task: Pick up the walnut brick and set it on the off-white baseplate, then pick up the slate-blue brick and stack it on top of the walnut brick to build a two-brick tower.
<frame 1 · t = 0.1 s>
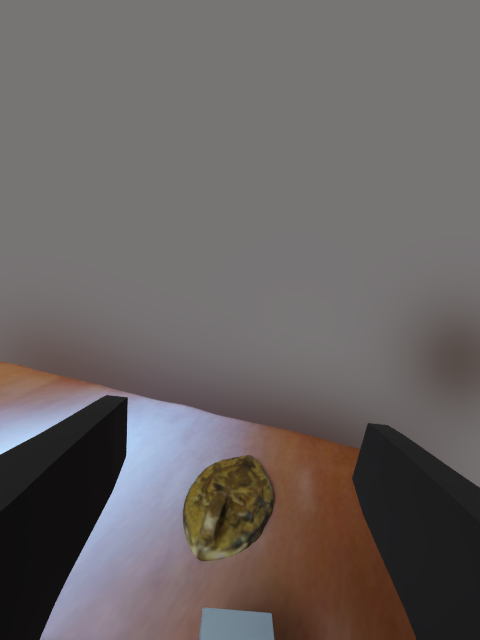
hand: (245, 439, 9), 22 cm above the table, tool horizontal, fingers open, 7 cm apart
olive-yellow oval lump: (229, 505, 34), on the table
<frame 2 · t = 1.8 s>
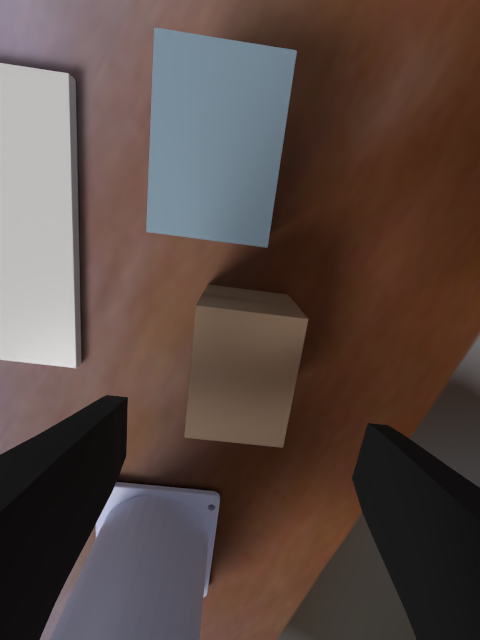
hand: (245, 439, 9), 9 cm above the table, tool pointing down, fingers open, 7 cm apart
walnut brick: (241, 340, 17), on the table
slate-blue brick: (222, 174, 15), on the table
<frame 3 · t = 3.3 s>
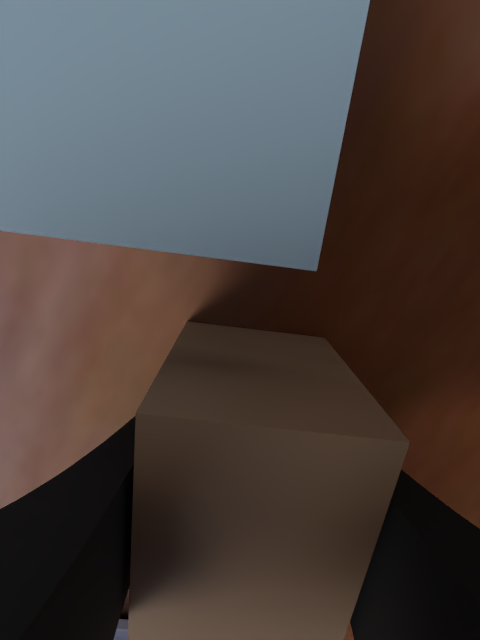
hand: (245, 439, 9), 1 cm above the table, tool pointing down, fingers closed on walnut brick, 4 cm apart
walnut brick: (244, 411, 10), on the table, touching gripper
slate-blue brick: (211, 124, 8), on the table
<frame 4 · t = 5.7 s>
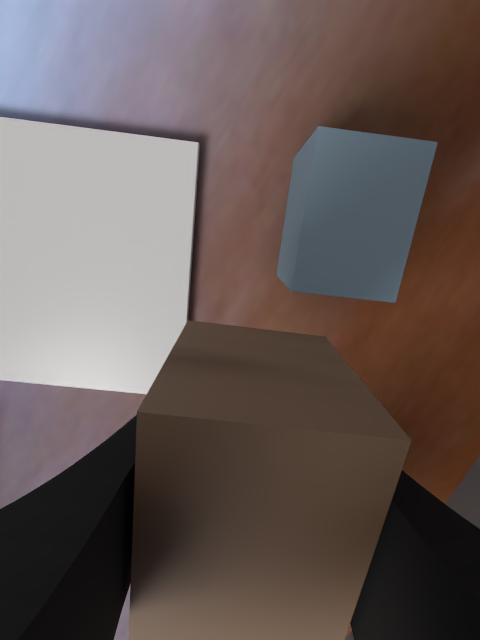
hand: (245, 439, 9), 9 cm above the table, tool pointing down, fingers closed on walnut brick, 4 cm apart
walnut brick: (244, 410, 10), point 8 cm above the table, touching gripper
slate-blue brick: (324, 224, 17), on the table
baseplate: (65, 269, 17), on the table
when the fingers open (3 cm above the table, at t = 8.2 s): walnut brick stays where it is, resting on baseplate.
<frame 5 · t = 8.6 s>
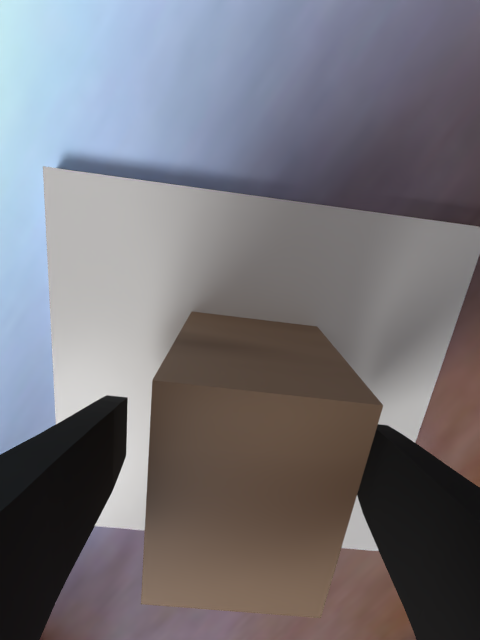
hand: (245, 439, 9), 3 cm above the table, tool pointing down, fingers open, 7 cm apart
walnut brick: (243, 395, 11), point 1 cm above the table, touching baseplate
baseplate: (243, 388, 12), on the table
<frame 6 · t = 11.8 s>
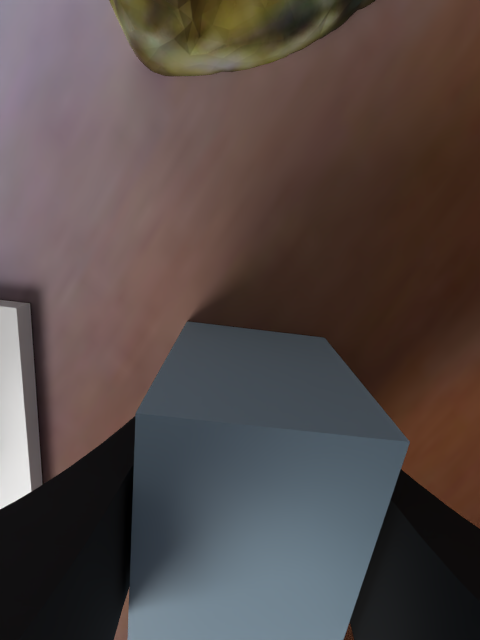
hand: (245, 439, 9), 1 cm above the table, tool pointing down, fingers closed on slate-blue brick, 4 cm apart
slate-blue brick: (244, 411, 10), on the table, touching gripper
when the fingers open (8 cm above the table, at t = 16.2 s): slate-blue brick stays where it is, resting on walnut brick.
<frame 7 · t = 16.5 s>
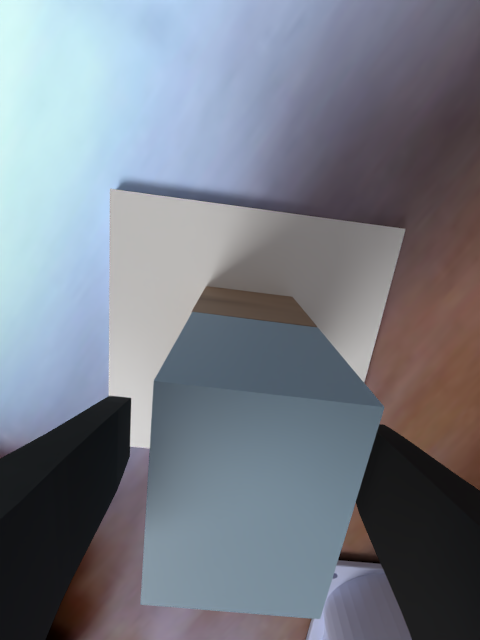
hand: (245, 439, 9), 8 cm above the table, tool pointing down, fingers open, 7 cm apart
walnut brick: (241, 346, 16), point 1 cm above the table, touching baseplate, slate-blue brick
slate-blue brick: (243, 395, 11), point 6 cm above the table, touching walnut brick
baseplate: (241, 343, 17), on the table
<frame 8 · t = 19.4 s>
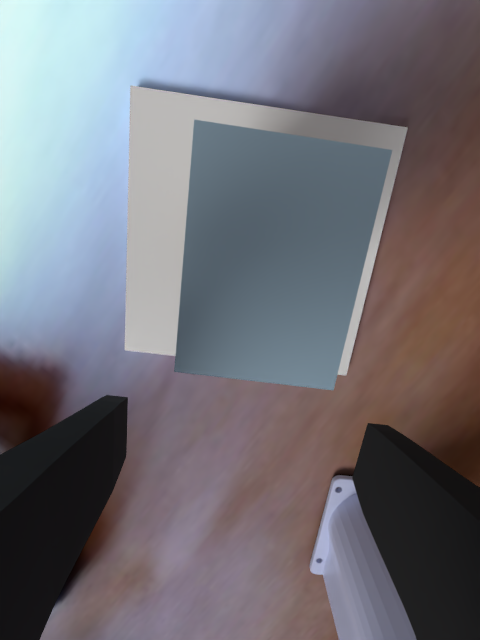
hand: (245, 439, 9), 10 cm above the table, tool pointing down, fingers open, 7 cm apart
slate-blue brick: (258, 255, 12), point 6 cm above the table, touching walnut brick
baseplate: (252, 249, 18), on the table
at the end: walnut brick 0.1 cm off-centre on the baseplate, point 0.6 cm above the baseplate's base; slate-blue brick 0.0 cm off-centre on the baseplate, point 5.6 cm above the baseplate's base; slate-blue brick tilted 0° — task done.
